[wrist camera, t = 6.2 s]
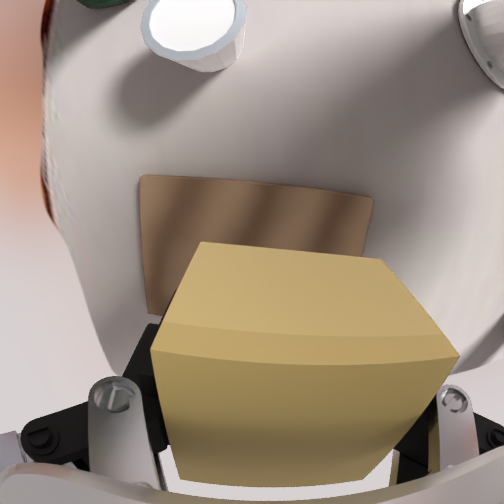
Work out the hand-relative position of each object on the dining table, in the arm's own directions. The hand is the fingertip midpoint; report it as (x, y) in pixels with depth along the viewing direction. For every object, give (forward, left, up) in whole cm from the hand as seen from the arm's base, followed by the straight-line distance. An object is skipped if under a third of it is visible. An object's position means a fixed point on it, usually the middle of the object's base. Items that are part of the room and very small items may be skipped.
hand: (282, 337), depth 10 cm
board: (+1, +5, -16) cm, 17 cm away
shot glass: (+6, -14, -17) cm, 23 cm away
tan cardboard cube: (0, 0, -1) cm, 1 cm away
